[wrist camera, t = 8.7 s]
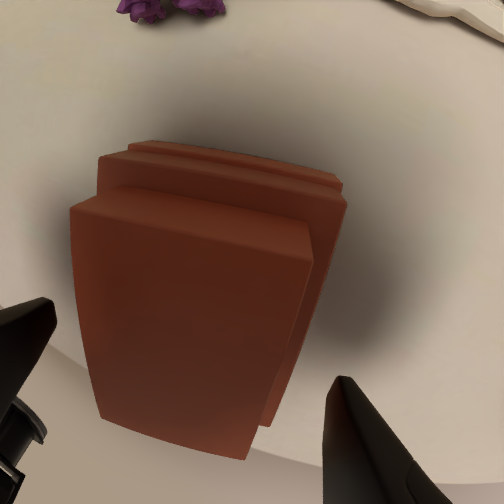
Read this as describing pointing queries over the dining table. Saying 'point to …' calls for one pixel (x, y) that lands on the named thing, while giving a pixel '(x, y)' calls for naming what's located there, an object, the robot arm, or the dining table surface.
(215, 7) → the purple lumpy cluster
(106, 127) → the dining table surface
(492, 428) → the dining table surface
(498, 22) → the white tapered bar
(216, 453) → the rust red rectangular block
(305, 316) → the rust books
